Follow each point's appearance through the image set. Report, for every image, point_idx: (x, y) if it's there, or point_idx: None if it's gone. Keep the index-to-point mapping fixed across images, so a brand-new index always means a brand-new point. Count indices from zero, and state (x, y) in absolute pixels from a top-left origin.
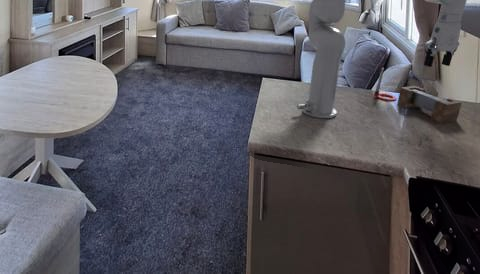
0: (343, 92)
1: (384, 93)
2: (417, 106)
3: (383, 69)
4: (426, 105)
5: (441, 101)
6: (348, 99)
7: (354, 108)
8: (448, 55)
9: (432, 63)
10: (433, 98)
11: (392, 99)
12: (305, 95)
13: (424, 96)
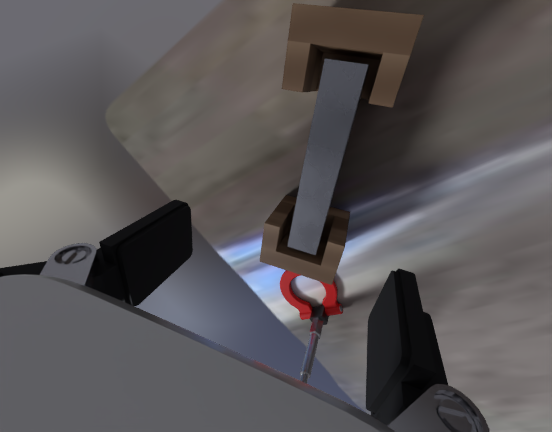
0: None
1: (290, 301)
2: None
3: None
4: (343, 157)
5: (385, 76)
6: None
7: (516, 312)
8: (126, 271)
9: (404, 290)
10: (343, 142)
11: None
12: (507, 426)
13: (334, 187)
